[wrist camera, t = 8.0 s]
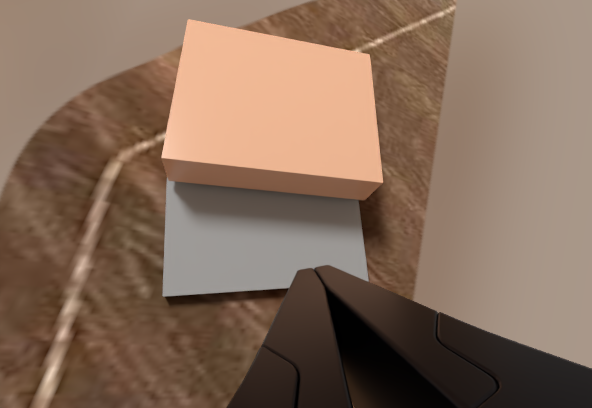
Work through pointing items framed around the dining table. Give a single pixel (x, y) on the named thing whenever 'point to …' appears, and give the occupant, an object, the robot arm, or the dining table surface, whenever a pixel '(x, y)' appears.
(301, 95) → the peach rectangular block
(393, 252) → the dining table surface
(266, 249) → the mat
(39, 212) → the dining table surface
